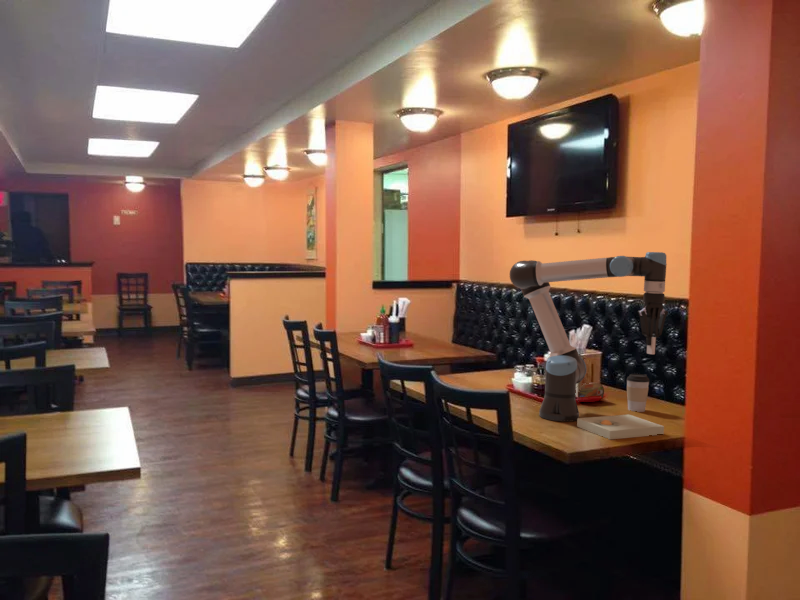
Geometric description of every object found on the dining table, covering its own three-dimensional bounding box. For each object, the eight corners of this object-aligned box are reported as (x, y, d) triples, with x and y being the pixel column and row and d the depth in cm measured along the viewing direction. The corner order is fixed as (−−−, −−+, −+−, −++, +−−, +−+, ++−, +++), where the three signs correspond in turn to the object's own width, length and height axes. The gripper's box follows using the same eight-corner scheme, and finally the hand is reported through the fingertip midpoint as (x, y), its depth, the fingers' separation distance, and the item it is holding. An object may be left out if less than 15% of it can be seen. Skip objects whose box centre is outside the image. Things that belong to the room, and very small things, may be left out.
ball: (596, 428, 236) (599, 417, 237) (604, 431, 238) (608, 421, 239) (604, 429, 233) (607, 419, 233) (612, 433, 234) (615, 422, 235)
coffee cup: (627, 411, 268) (629, 375, 267) (622, 406, 277) (624, 371, 276) (650, 413, 267) (652, 376, 266) (644, 408, 276) (646, 372, 275)
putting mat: (577, 426, 242) (577, 418, 242) (628, 422, 251) (629, 414, 251) (609, 439, 225) (610, 430, 225) (663, 434, 234) (664, 426, 234)
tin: (578, 404, 280) (579, 384, 280) (573, 402, 283) (574, 383, 282) (604, 401, 288) (605, 382, 287) (598, 399, 290) (599, 381, 290)
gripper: (647, 293, 244) (644, 355, 245) (674, 293, 249) (671, 354, 250) (633, 291, 251) (630, 352, 252) (660, 292, 256) (656, 351, 257)
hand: (650, 353), depth 251 cm, fingers closed
